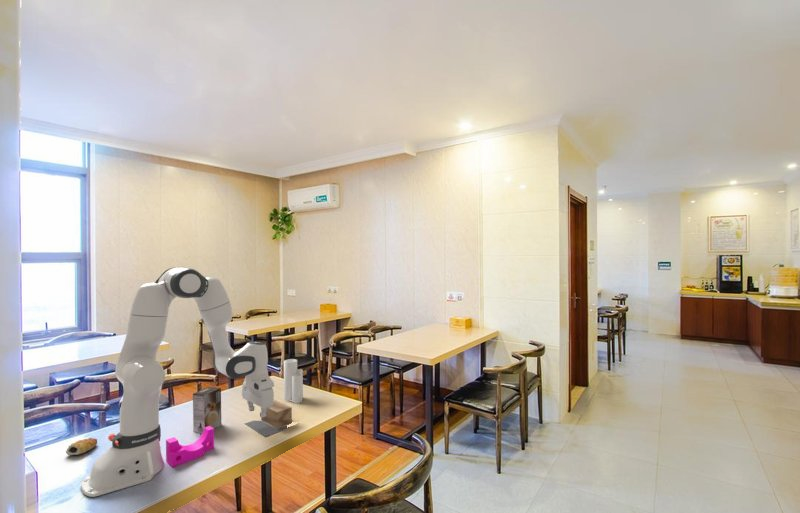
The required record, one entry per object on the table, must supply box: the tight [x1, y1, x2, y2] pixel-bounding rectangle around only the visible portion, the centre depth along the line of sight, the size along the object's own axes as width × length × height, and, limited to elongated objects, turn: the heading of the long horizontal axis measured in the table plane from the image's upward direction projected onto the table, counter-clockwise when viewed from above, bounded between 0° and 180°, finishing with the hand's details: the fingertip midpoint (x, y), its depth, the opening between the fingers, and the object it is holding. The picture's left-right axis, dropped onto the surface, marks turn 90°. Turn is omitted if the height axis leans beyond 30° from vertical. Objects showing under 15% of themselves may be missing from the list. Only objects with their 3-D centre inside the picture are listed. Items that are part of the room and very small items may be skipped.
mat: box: [244, 420, 290, 438], centre depth 170 cm, size 30×18×1 cm, turn 138°
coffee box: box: [192, 386, 222, 434], centre depth 162 cm, size 9×6×16 cm
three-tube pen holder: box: [283, 358, 304, 404], centre depth 192 cm, size 11×7×20 cm, turn 59°
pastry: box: [65, 437, 98, 456], centre depth 144 cm, size 9×7×4 cm
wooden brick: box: [260, 399, 293, 429], centre depth 167 cm, size 7×13×7 cm, turn 48°
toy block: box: [165, 426, 215, 468], centre depth 140 cm, size 15×6×8 cm, turn 138°
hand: (257, 413), depth 160 cm, fingers open, 8 cm apart
